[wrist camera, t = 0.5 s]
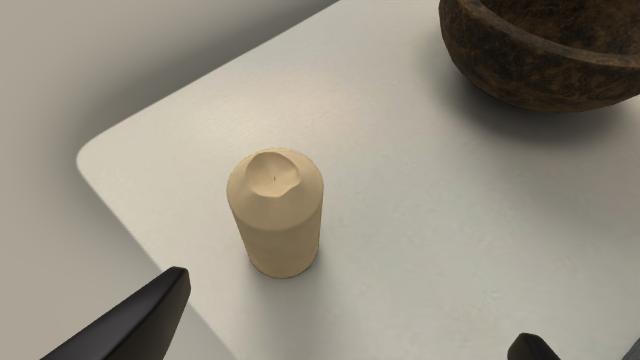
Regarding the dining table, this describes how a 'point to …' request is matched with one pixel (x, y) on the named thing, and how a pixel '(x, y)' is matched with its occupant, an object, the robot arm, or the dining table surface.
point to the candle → (277, 210)
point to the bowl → (547, 50)
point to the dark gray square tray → (633, 352)
